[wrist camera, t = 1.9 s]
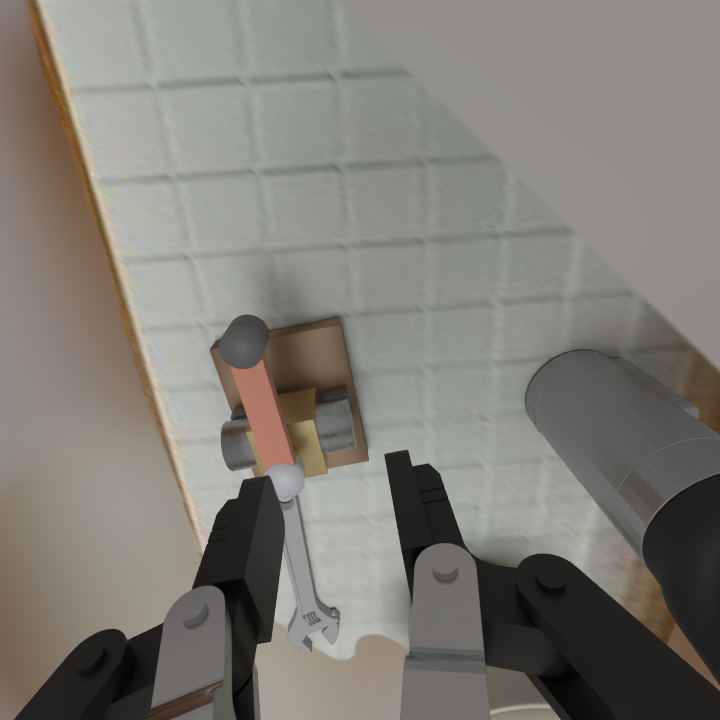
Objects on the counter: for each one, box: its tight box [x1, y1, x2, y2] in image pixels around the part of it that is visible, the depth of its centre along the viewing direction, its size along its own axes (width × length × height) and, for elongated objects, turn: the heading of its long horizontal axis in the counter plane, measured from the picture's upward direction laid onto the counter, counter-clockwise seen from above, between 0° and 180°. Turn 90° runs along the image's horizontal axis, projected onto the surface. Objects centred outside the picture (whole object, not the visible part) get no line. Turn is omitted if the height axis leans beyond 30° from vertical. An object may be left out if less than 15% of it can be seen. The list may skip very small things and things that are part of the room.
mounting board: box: [210, 317, 369, 477], centre depth 39 cm, size 11×14×2 cm
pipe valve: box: [221, 384, 357, 478], centre depth 35 cm, size 10×5×8 cm, turn 100°
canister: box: [409, 604, 561, 720], centre depth 43 cm, size 18×18×21 cm
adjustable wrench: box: [279, 495, 340, 653], centre depth 49 cm, size 25×6×2 cm, turn 1°
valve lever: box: [219, 315, 305, 498], centre depth 29 cm, size 3×13×3 cm, turn 10°
